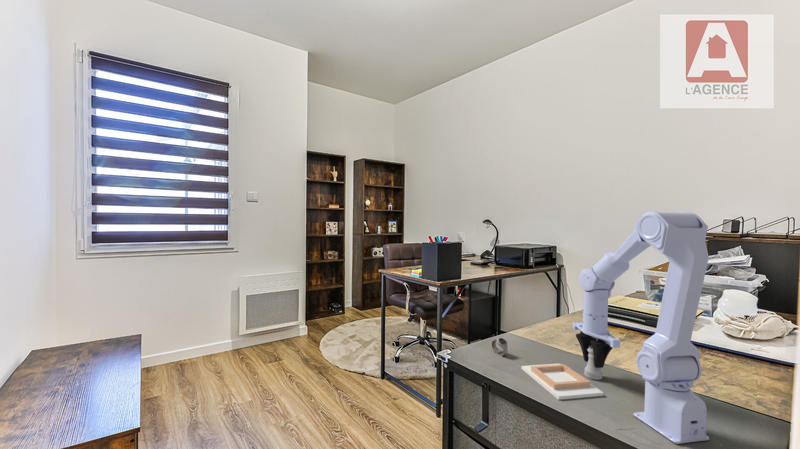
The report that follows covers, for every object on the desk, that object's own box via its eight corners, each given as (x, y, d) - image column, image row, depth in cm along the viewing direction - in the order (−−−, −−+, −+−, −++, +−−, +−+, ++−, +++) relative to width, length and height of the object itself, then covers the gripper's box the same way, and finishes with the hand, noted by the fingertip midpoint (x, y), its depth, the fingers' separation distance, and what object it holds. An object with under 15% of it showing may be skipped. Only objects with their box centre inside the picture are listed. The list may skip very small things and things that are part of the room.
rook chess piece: (605, 381, 87) (606, 351, 87) (587, 379, 88) (588, 349, 88) (599, 373, 91) (600, 344, 91) (581, 371, 92) (582, 343, 92)
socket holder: (603, 395, 80) (603, 387, 80) (558, 399, 78) (558, 391, 77) (559, 366, 95) (559, 359, 95) (521, 368, 93) (521, 361, 93)
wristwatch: (501, 358, 100) (501, 341, 100) (488, 350, 106) (489, 334, 106) (510, 356, 102) (511, 340, 102) (497, 348, 107) (498, 333, 107)
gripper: (631, 321, 83) (629, 375, 83) (588, 306, 97) (586, 352, 97) (606, 322, 81) (605, 377, 82) (566, 307, 96) (565, 353, 96)
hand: (593, 364), depth 89 cm, fingers closed on rook chess piece, 3 cm apart
